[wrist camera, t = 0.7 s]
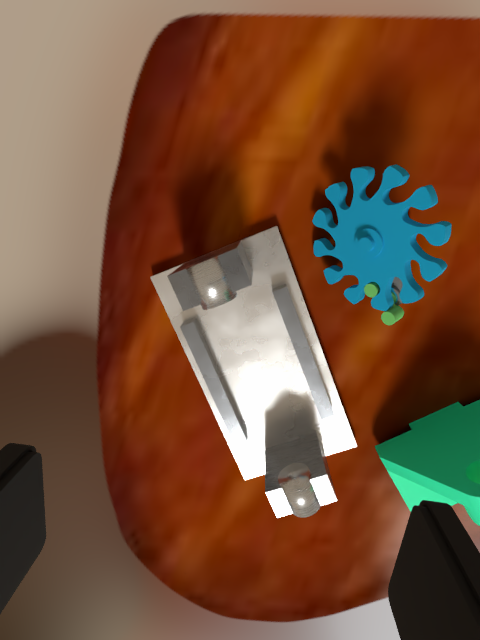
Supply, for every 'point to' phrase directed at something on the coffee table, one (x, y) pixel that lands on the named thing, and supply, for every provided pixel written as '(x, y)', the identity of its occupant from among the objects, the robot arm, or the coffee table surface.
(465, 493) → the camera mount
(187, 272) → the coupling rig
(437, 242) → the gear
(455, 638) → the robot arm
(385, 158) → the coffee table surface
